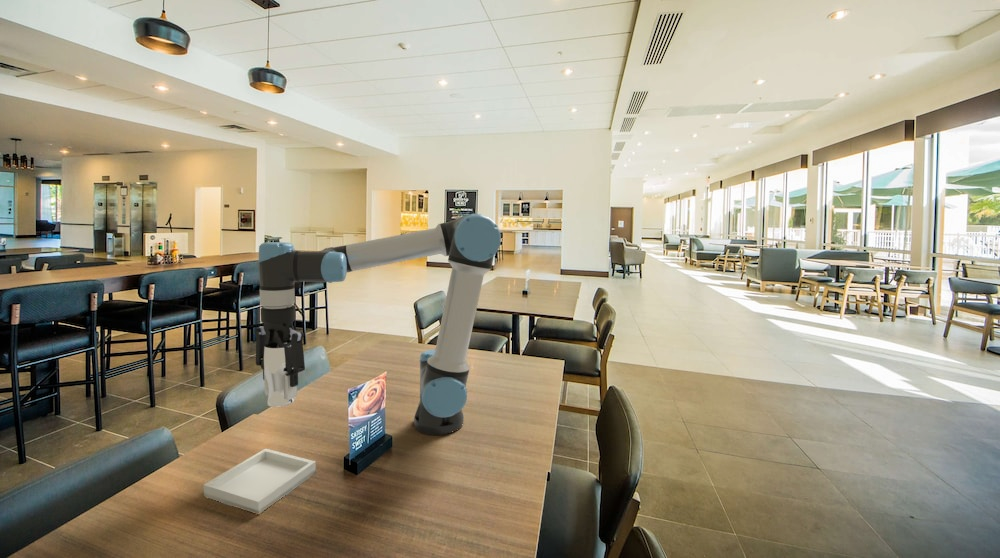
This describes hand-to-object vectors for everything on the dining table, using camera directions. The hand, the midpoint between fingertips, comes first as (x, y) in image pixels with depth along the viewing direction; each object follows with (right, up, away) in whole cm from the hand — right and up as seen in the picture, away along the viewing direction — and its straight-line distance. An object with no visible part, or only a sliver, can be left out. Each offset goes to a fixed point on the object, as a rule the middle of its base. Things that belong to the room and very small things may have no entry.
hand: (281, 395), depth 104 cm
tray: (0, -18, -8) cm, 20 cm away
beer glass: (0, -2, 0) cm, 2 cm away
